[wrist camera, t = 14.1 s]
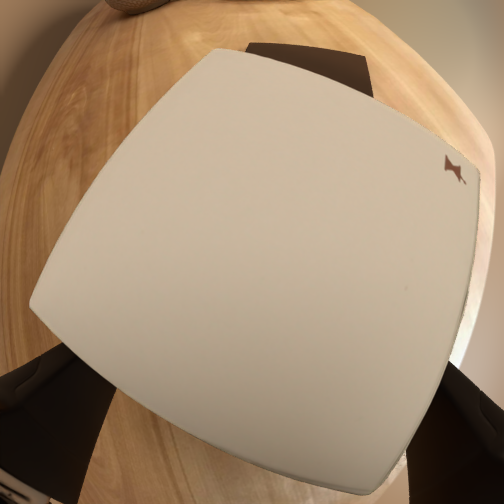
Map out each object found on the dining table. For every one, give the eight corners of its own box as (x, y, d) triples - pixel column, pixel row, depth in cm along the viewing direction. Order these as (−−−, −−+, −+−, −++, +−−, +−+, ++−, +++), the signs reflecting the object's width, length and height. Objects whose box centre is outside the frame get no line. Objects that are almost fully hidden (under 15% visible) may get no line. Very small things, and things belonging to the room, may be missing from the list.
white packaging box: (238, 219, 17) (218, 37, 5) (342, 273, 16) (490, 168, 4) (179, 323, 16) (15, 302, 3) (289, 381, 15) (382, 505, 3)
